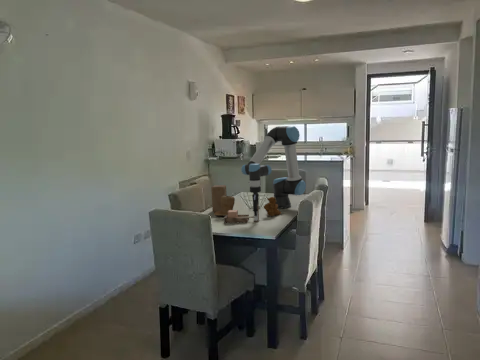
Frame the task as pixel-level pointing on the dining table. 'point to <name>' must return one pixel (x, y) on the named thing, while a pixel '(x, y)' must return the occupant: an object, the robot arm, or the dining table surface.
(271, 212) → the stuffed squirrel
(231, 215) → the corded block
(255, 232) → the dining table surface
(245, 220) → the walnut lane
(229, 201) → the brown boot
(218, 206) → the wooden block
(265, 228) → the dining table surface
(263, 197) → the dining table surface
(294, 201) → the dining table surface
